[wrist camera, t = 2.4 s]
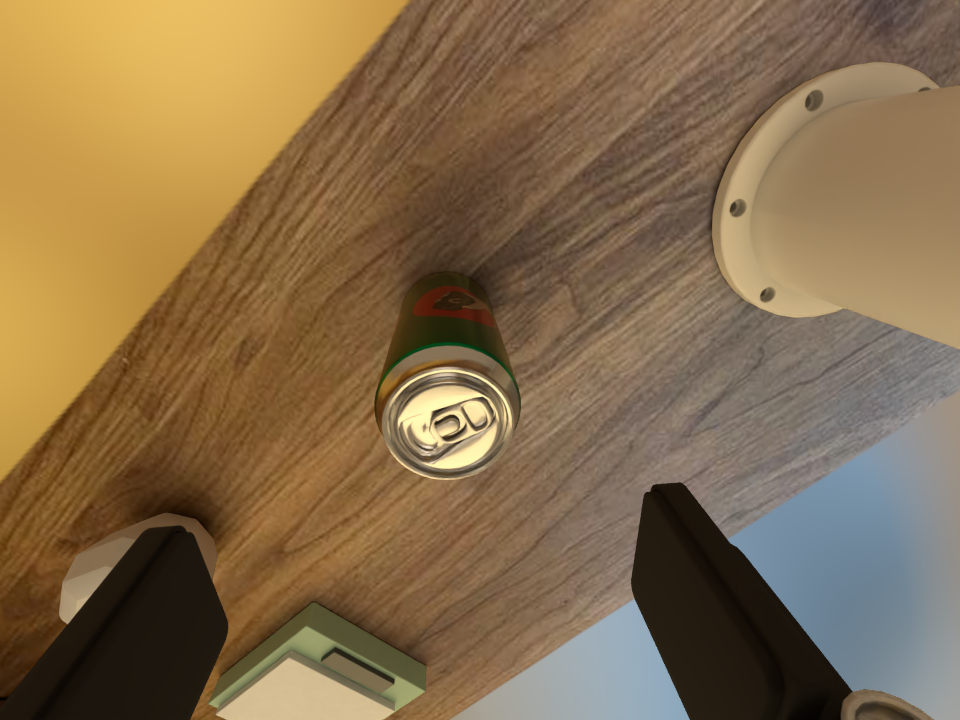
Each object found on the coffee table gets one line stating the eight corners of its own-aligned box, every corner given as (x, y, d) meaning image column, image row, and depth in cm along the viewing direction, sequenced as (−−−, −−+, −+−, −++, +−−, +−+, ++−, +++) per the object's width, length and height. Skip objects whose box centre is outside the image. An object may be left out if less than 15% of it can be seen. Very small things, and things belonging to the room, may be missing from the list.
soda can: (385, 294, 24) (337, 399, 14) (466, 253, 24) (485, 327, 13) (429, 367, 26) (418, 510, 16) (505, 331, 26) (549, 452, 15)
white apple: (199, 592, 32) (143, 689, 26) (93, 538, 30) (4, 633, 24) (265, 530, 31) (221, 619, 25) (158, 467, 28) (79, 550, 22)
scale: (313, 601, 34) (303, 634, 31) (426, 666, 38) (425, 699, 35) (219, 677, 36) (203, 712, 34) (334, 730, 40) (327, 765, 38)
